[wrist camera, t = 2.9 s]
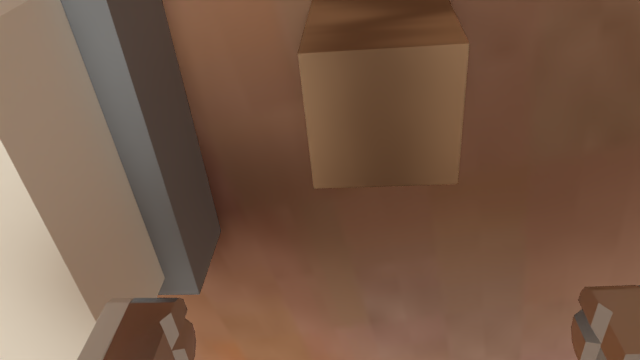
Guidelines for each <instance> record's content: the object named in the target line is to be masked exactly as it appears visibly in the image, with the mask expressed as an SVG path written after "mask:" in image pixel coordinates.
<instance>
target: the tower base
mask: <svg viewBox="0 0 640 360" xmlns="http://www.w3.org/2000/svg"><path fill="white" fill-rule="evenodd" d="M60 1H61V3H62V6H63V9H64V11H65V14H66V17H67V19H68V22H69V25H70V27H71V30H72V33H73V35H74V38H75V41H76V43H77V46H78V49H79V51H80V54H81V57H82V59H83V62H84V65H85V67H86V70H87V73H88V75H89V78H90V80H91V83H92V86H93V88H94V91H95V94H96V96H97V99H98V102H99V104H100V107H101V110H102V112H103V115H104V118H105V120H106V123H107V126H108V128H109V131H110V134H111V136H112V139H113V142H114V144H115V147H116V150H117V152H118V155H119V158H120V160H121V163H122V165H123V168H124V171H125V173H126V176H127V179H128V181H129V184H130V187H131V189H132V192H133V195H134V197H135V200H136V203H137V205H138V208H139V211H140V213H141V216H142V219H143V221H144V224H145V227H146V229H147V232H148V235H149V237H150V240H151V242H152V245H153V248H154V250H155V253H156V256H157V258H158V261H159V264H160V266H161V269H162V272H163V274H164V277H165V279H164V281H163V284H162V286H161V289H160V291H159V293H158V295H192V294H200V292H201V289H202V286H203V283H204V280H205V277H206V274H207V271H208V268H209V265H210V262H211V259H212V256H213V253H214V250H215V247H216V244H217V241H218V238H219V235H220V232H221V229H220V225H219V221H218V218H217V214H216V210H215V206H214V202H213V198H212V194H211V190H210V186H209V182H208V178H207V175H206V171H205V167H204V163H203V159H202V155H201V151H200V147H199V143H198V139H197V135H196V132H195V128H194V124H193V120H192V116H191V112H190V108H189V104H188V100H187V96H186V93H185V89H184V85H183V81H182V77H181V73H180V69H179V65H178V61H177V57H176V53H175V50H174V46H173V42H172V38H171V34H170V30H169V26H168V22H167V18H166V14H165V10H164V7H163V3H162V0H60Z"/></svg>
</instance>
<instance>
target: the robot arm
mask: <svg viewBox="0 0 640 360" xmlns="http://www.w3.org/2000/svg"><path fill="white" fill-rule="evenodd" d="M578 301H579V303H580V305H581V307H582V310H580V311H579V312H578V313H576V314H575V315H574V317H573V321H572V325H571V335H572V343H573V347H574V351H575V354H576V356H577V358H578V360H640V285H638V286H637V285H622V286H595V287H584V289H583V290H582V291H581V293H580V296H579V299H578ZM186 312H187V307H186V305H185V302H184V300H183V299H182V298H112V299H111V300H110V301H109V302H107V303H106V305H105V306H104V308H103V310H102V312H101V314H100V316H99V318H98V320H97V322H96V324H95V326H94V328H93V330H92V331H91V333H90V335H89V337H88V339H87V341H86V343H85V345H84V347H83V349H82V351H81V353H80V355H79V357H78V358H77V360H194V357H195V348H196V337H195V330H194V327H193V324H192V323H191V322H189V321H188V320H187V319H185V315H186Z"/></svg>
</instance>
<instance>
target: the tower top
mask: <svg viewBox="0 0 640 360" xmlns="http://www.w3.org/2000/svg"><path fill="white" fill-rule="evenodd" d="M164 279H165V277H164V274H163V272H162V269H161V266H160V264H159V261H158V258H157V256H156V253H155V250H154V248H153V245H152V242H151V240H150V237H149V235H148V232H147V229H146V227H145V224H144V221H143V219H142V216H141V213H140V211H139V208H138V205H137V203H136V200H135V197H134V195H133V192H132V189H131V187H130V184H129V181H128V179H127V176H126V173H125V171H124V168H123V165H122V163H121V160H120V158H119V155H118V152H117V150H116V147H115V144H114V142H113V139H112V136H111V134H110V131H109V128H108V126H107V123H106V120H105V118H104V115H103V112H102V110H101V107H100V104H99V102H98V99H97V96H96V94H95V91H94V88H93V86H92V83H91V80H90V78H89V75H88V73H87V70H86V67H85V65H84V62H83V59H82V57H81V54H80V51H79V49H78V46H77V43H76V41H75V38H74V35H73V33H72V30H71V27H70V25H69V22H68V19H67V17H66V14H65V11H64V9H63V6H62V3H61V1H60V0H0V360H77V358H78V357H79V355H80V353H81V351H82V349H83V347H84V345H85V343H86V341H87V339H88V337H89V335H90V333H91V331H92V330H93V328H94V326H95V324H96V322H97V320H98V318H99V316H100V314H101V312H102V310H103V308H104V306H105V305H106V303H107V302H109V301H110V300H111V299H112V298H157V296H158V293H159V291H160V289H161V286H162V284H163V281H164Z"/></svg>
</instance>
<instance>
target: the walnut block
mask: <svg viewBox="0 0 640 360" xmlns="http://www.w3.org/2000/svg"><path fill="white" fill-rule="evenodd" d="M468 55H469V41H468V39H467V37H466V35H465V33H464V31H463V29H462V27H461V25H460V22H459V20H458V18H457V16H456V14H455V12H454V10H453V8H452V6H451V3H450V1H449V0H312V3H311V7H310V10H309V14H308V18H307V21H306V25H305V28H304V32H303V36H302V39H301V43H300V47H299V50H298V61H299V70H300V78H301V87H302V95H303V104H304V112H305V120H306V129H307V137H308V146H309V154H310V163H311V171H312V180H313V188H314V189H319V188H351V187H383V186H415V185H447V184H458V176H459V164H460V152H461V140H462V127H463V115H464V103H465V91H466V79H467V67H468Z"/></svg>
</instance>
